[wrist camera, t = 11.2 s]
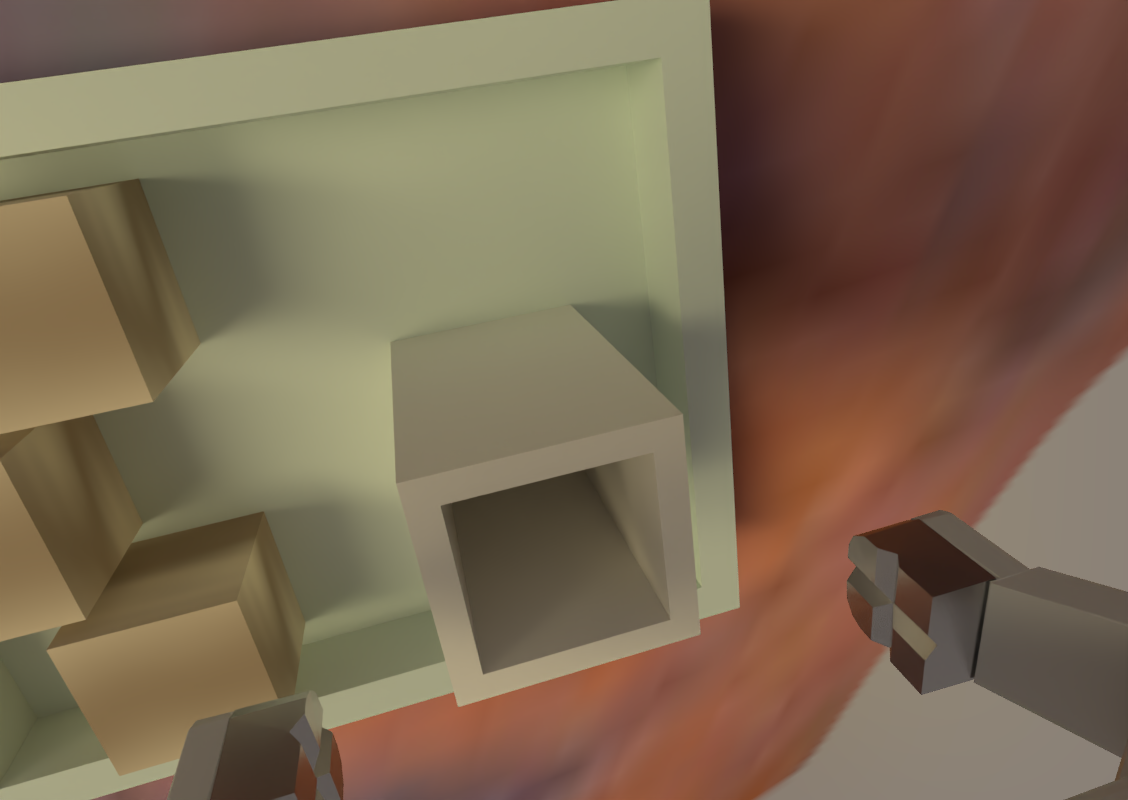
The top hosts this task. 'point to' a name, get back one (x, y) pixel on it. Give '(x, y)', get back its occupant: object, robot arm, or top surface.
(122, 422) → the tray
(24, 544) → the maple block
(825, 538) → the top surface
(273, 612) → the maple block
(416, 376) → the cream hollow square tube
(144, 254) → the maple block
